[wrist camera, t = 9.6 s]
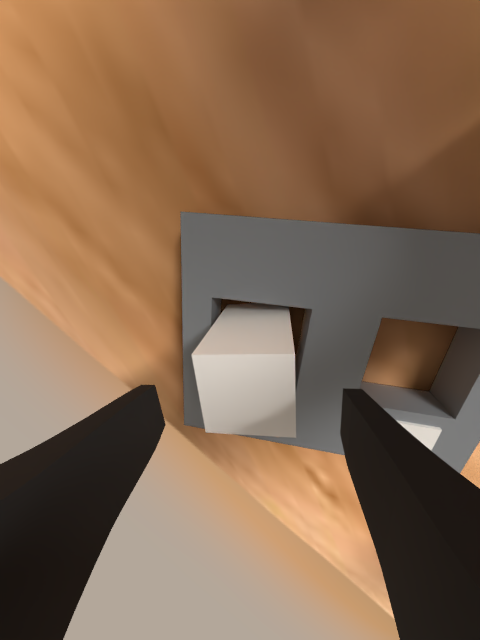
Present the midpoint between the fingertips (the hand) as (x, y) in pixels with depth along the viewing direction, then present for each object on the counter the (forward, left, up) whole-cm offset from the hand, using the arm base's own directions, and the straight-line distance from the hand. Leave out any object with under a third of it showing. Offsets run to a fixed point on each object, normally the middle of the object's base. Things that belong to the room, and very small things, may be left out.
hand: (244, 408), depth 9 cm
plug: (0, 0, -8) cm, 8 cm away
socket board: (-4, 0, -8) cm, 9 cm away
